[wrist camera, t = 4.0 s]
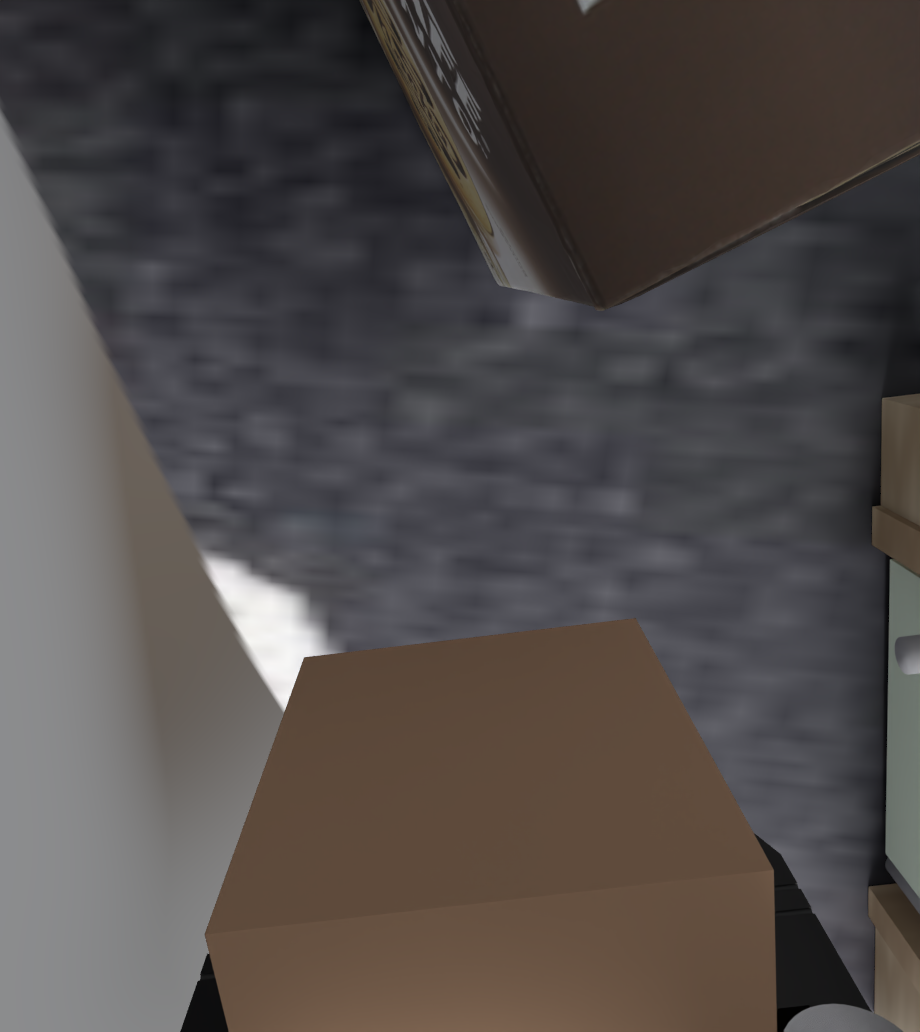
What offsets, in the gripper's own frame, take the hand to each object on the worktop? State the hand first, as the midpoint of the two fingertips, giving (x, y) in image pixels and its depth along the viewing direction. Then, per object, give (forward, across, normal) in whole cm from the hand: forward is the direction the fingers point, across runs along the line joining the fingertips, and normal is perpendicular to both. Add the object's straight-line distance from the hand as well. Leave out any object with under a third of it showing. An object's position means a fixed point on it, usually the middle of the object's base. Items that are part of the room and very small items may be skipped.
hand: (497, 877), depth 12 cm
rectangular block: (0, 0, 0) cm, 0 cm away
